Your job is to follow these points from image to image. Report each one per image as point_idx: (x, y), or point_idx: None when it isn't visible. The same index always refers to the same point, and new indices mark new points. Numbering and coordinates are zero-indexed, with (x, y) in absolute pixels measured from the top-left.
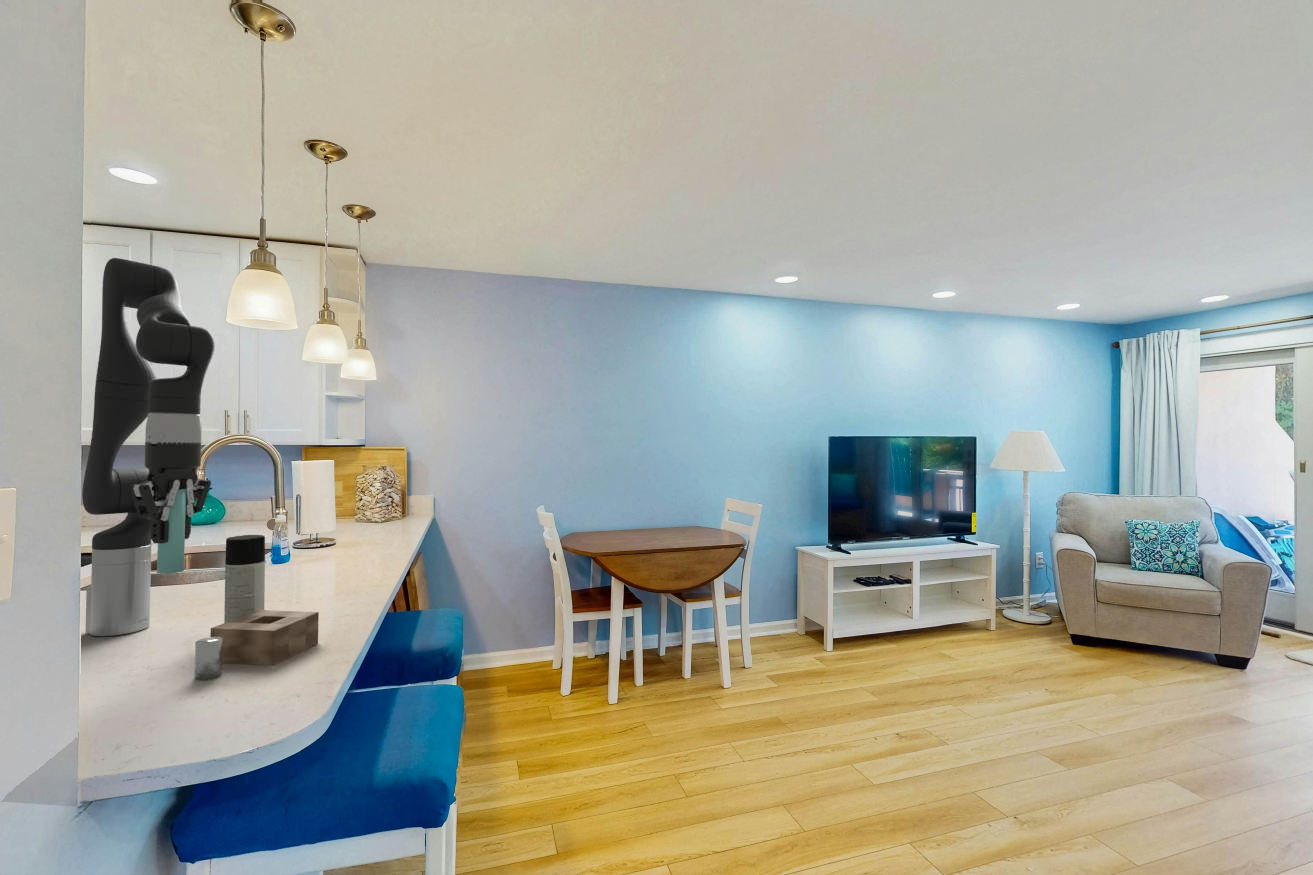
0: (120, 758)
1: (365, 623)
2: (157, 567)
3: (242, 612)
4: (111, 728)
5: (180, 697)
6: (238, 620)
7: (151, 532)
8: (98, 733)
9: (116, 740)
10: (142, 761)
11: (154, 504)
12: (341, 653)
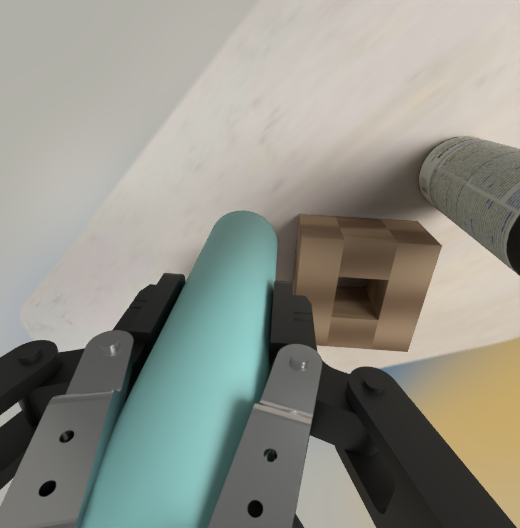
0: (43, 317)
1: (501, 335)
2: (211, 231)
3: (441, 208)
4: (82, 261)
5: (170, 270)
6: (357, 252)
7: (132, 304)
8: (69, 257)
9: (65, 287)
10: (47, 337)
11: (3, 478)
12: (338, 362)
